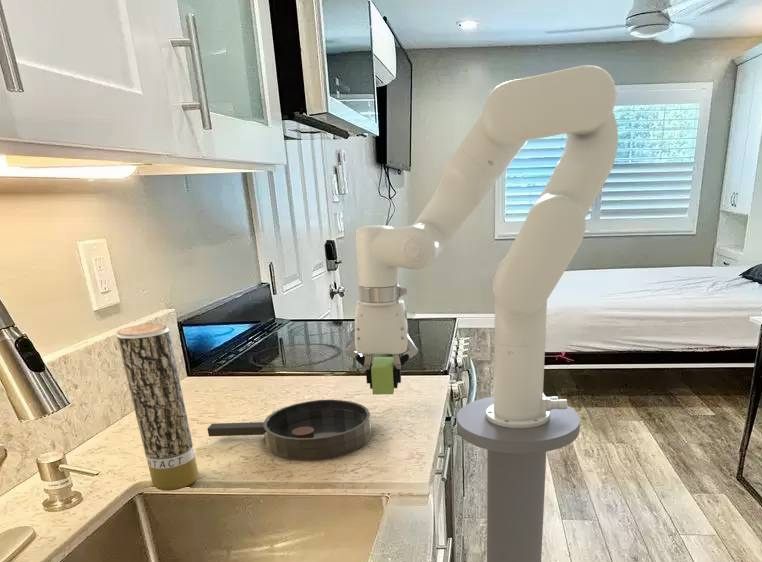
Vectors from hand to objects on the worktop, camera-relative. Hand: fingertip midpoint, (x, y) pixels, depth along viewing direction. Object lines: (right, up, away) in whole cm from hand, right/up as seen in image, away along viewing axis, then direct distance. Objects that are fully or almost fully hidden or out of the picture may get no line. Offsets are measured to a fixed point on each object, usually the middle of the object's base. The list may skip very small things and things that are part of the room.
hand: (384, 385), depth 114 cm
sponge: (0, -1, 0) cm, 1 cm away
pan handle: (-26, -9, -8) cm, 29 cm away
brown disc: (-14, -10, -7) cm, 19 cm away
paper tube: (-31, -17, -22) cm, 42 cm away
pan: (-11, -10, -7) cm, 17 cm away
